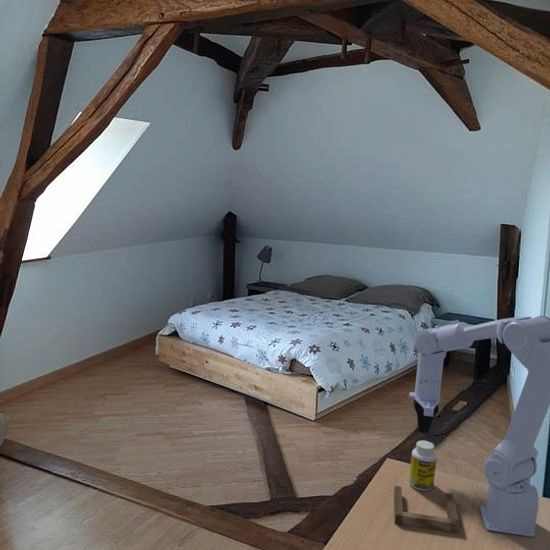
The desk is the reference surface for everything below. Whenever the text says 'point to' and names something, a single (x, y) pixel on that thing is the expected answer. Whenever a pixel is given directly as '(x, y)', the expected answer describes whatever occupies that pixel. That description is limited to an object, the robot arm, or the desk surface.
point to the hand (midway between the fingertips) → (423, 431)
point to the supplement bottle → (423, 466)
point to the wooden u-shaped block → (425, 520)
